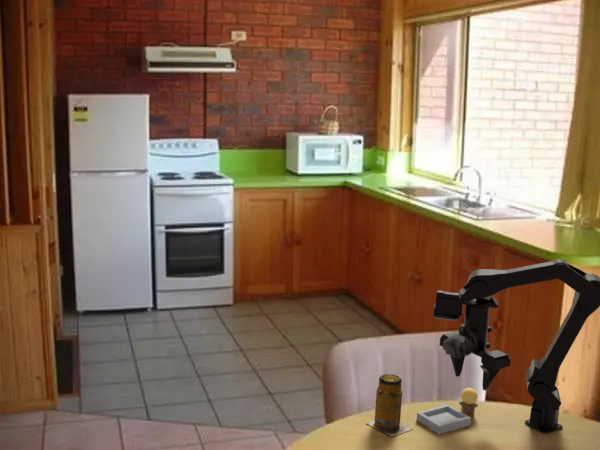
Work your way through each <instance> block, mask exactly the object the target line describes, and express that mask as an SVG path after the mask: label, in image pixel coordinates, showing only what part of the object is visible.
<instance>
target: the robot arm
mask: <svg viewBox="0 0 600 450" xmlns="http://www.w3.org/2000/svg"><path fill="white" fill-rule="evenodd" d="M554 280H559V281H561V282H563V283H564V284H565V285H567V286H568V287H570V288H571V289H573V291H574V295H573V299H572V303H571V306H570V309H569V310H568V312H567V314H566V316H565V318H564V319H563V321H562V323H561V324H560V327H559V329H558V331H556V334H555V336H554V338H553V339H552V342H551V343H550V345H549V347H548V349H547V351H546V353H545V354H544V356H543V357H542V358H540V359H539V360H537V359H535V358H532V360H531V364H530V365H529V368H528V369H526V370H525V375H526V385H527V391H528V392H527V393H528V394H529V395H530V396H531V397H532V398H533V401H532V402H531V408H530V414H529V419H526V420H524V423H525V424H526V425H529V426H530V427H532V428H534V429H536V430H537V431H539V432H541V433H544V434H548V433H552V432H555V431H558V430H561V429H563V427H564V426H563V425H562V424H560V423H559V415H560V407H561V405H562V401H561V397H560V396H561V395H560V391H559V388H558V387H557V386H556V384H557V380H558V376H559V375H558V374H559V370H560V367H561V366H562V364H563V362H564V360H565V358H566V357H567V355H568V353H569V351H571V347H572V346H573V344H574V342H575V341H576V338H578V335H579V334H580V331H581V330H582V329H583V326H584V325H585V323H586V322H587V319H588V318H589V317H590V316H591V315H592V314H593V313H595V312H596V311H597V310H598V309H599V308H600V276H599V275H597V274H594V273H587V272H585V271H583V270H582V269H580V268H578V267H575V266H574V265H572V264H570V263H569V262H567V261H566V260H564V259H562V258H557V259H554V260H551V261H547V262H541V263H540V262H539V263H535V264H529V265H526V266H525V265H524V266H520V267H515V268H509V269H508V268H507V269H493V268H489V269H487V268H483V269H475V270H473V271H472V272H471V273H470V274H469V275H468V279H467V282H466V283H465V285H464V286H463V287H461V288H460V289H459V292H452V291H450V292H449V291H446V290H445V291H444V290H440V289H438V290H436V294H435V295H436V296H435V303H434V307H433V319H440V320H447V321H456V322H457V320H459V319H460V318H462V316H463V309H464V308H465V311H464V321H463V322H464V323H463V324H460V325H459V329H458V332H457V331H453V332H452V331H451V332H448V333H443V334H442V335H441V336H440V337H439V346H440V347H442V350H444V351H445V354H446V355H448V356H449V357H450V359H451V364H452V366H453V367H452V368H453V370H454V374H455V377H456V378H457V377H458V378H459V377H460V376H461V373H462V371H463V369H464V368H463V366H464V363H465V358H466V357H468V356H469V355H472V354H473V355H475V356H477V357H479V358H481V359H480V362H481V365H479V366H480V368H481V370H482V383H481V384H482V390H483V391H487V390H488V389H489V387H490V385H491V384H492V383H493V381H494V379H495V377H496V376H497V375H498V373H499V372H500V371H501V369H505V368H508V367H511V356H510V355H509V354H507V353H506V352H503V351H501V350H498V349H496V350H491V351H488V350H487V349H490V348H491V343H489V342H488V334H489V333H490V332H492V328H493V327H491V326H489V323H490V322H489V321H490V314H491V313H490V310H491V308H492V309H494V308H495V309H497V308H499V301H498V300H496V299H495V297H494V295H496V294H498V293H500V292H502V291H505V290H507V289H509V288H515V287H521V286H527V285H531V284H538V283H543V282H547V281H554ZM464 306H465V307H464ZM463 307H464V308H463Z"/></svg>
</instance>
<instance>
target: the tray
mask: <svg viewBox="0 0 600 450" xmlns="http://www.w3.org/2000/svg"><path fill="white" fill-rule="evenodd" d="M471 420H472V418H471V417H469V416H467V415H466V414H464V413H462V412H461V411H460V410H458V409H456V408H455V407H453V406H451V405H450V404H445V405H440V406H437V407H433V408H430V409H425V410H422V411H419V412H416V421H417V422H419V423H420V424H422V425H423V426H426V427H427V428H428V429H430V430H431V431H434V432H435V433H436V434H438V435H441V434H444V433H448V432H451V431H455V430H459V429H462V428H466V427H469V426H471Z"/></svg>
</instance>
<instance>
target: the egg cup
mask: <svg viewBox="0 0 600 450" xmlns="http://www.w3.org/2000/svg"><path fill="white" fill-rule="evenodd" d="M458 404H459V405H460V406H461V409H460V410H461V411H460V412H462V413H464V414H466V415H467V416H469V417H471V419H472V418H473V417H475V410H476V408H478V406H479V404H478V403H477V402H475V403H474V404H470V405H469V404H466V403H464V402H463V401H462V400H460V401H458Z"/></svg>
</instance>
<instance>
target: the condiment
mask: <svg viewBox="0 0 600 450" xmlns="http://www.w3.org/2000/svg"><path fill="white" fill-rule="evenodd" d="M402 382H403V380H402V378H401V377H400V376H399V375H396V374H393V373H387V374H382V375H380V376H379V378H378V387H376V395H375V409H374V410H375V411H374V419H373V420H371V421H368V422H366V424H367V425H369V426H370V427H372V428H374V429H376V430H378V431H381V432H382V433H383V434H386V435H388V436H390V437H396V436H398V435H401V434H405V433H406V432H409V431H411V430H413V428H412V427H411V426H409V425H406V424H404V423H402V422H401V417H402V416H401V413H402V403H403V389H402Z"/></svg>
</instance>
